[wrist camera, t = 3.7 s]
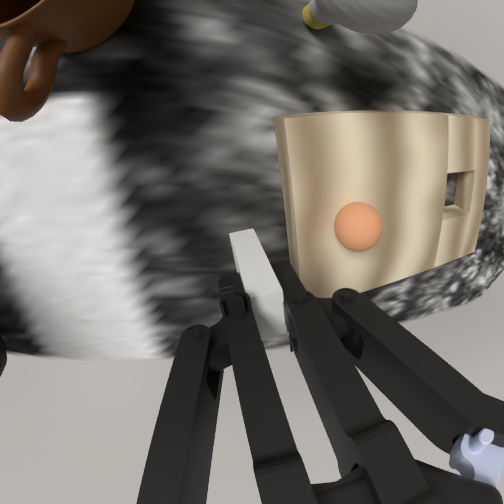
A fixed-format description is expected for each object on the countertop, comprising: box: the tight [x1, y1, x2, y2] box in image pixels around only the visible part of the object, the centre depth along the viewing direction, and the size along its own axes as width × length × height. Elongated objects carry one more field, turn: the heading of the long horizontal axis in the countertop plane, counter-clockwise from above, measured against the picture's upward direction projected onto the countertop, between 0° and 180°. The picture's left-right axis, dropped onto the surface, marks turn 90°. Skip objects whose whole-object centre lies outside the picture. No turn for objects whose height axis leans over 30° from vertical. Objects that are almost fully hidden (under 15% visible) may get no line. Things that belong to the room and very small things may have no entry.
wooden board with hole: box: [273, 110, 490, 298], centre depth 22 cm, size 22×15×2 cm
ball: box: [334, 202, 383, 252], centre depth 19 cm, size 3×3×3 cm
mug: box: [0, 0, 135, 122], centre depth 8 cm, size 12×8×9 cm, turn 173°
